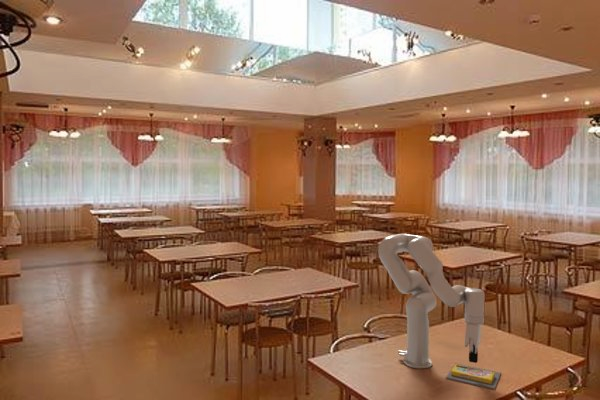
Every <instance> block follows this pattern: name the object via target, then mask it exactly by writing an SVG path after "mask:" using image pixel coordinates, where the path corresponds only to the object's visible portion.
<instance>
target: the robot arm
mask: <svg viewBox="0 0 600 400" xmlns="http://www.w3.org/2000/svg"><path fill="white" fill-rule="evenodd" d="M433 249H434V244H433V242H432V240H431V239H430V238H428V237H426V236H423V235H422V236H421V235H414V234H407V233H398V234H392V235H389V236H386V237H384V238H383V239H382V240H381V241H380V243H379V245H378V249H377V250H378V257H379V260H380V262H381V263H382V265H383V267H384V268H385V269H386V272H387V273H388V275H389V277H390V278H391V280H392V281H393V283H394V285H395V287H396V288H397V290H398V291H399V292H400V293H401V294H403V295H409V294H412V295H410V297H408V299H407V301H406V302H405V312H406V320H407V321H406V325H407V326H406V332H407V333H406V335H407V336H406V350H400V349H398V352H397V354H398V357H403V361H402V362H403V364H404V365H405V366H407V367H410V368H412V369H413V368H414V369H428V368H431V367H432V365H433V361H432V360H431V359H430V358H429V355H430V354H429V353H430V352H429V351H430V350H429V348H430V347H429V346H430V345H429V344H430V321H429V315H428V313H429V312H432V310H433V309H435V308H436V306H437V301H438V300H437V297H438V299H439V300H440V301H441V302H442V303H444V304H445V305H447V306H448V307H451V308H454V307H457V306H459V305H460V304H464V322H465V323H466V324H465V325H466V326H465V335H464V336H465V337H464V346H465V347H468V349H469V350H468V362H469V363H475V364H477V363H478V362H479V361H478V360H479V358H478V357H479V355H478V352H479V351H478V350H479V349H478V348H479V345H480V344H481V340H482V325H484V323H485V298H486V297H485V295H486V294H485V292H484V291H483V289H480V288H476V287H474V288H473V287H472V288H471V287H468V286H464V285H461V284H456V285H453V286H451V284H450V283H449V282H448V281H447V279H446V277H445V275H444V272H443V267H444V266H443V262H442V260H440V258H439V257H438V256H437V255H436V253H434V251H433ZM402 252H404V253H405V252H406V253H408V254H409V255H410V256H411V257H412V258H413V260H414V261H415V263H417V264H418V266H419V267H420V268H421V269H422V271H423V272H424V273H425V275H426V276H427V279H428V281H427V280H426V279H425V276H423V274H422V273H421V272H419V271H417V270H415V269H412V270H409V269H408V267H407V266H406V264H405V263H404V260H402V259H401V258H400V257H399V256H398V254H399V253H402ZM428 282H429V283H428ZM436 296H437V297H436Z"/></svg>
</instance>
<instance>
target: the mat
mask: <svg viewBox="0 0 600 400" xmlns="http://www.w3.org/2000/svg"><path fill="white" fill-rule="evenodd" d="M455 364H457V365H462V366H467V367H472V368H476V369H481V370H485V371H490V372H495V377H494V379H493V381H492V383H491V384H489V383H485V382H480V381H476V380H472V379H467V378H463V377H458V376H454V375H451V371H452V369H453V368H454V366H455ZM501 374H502V372H499V371H494V370H490V369H485V368H480V367H475V366H470V365H465V364H461V363H454V365H453V366H452V367H451V369H450V371H449V372H448V373H447V375H446V377H445V379H446V380H449V381H450V380H451V381H455V382H459V383H462V384H463V383H464V384H467V385H471V386H472V385H473V386H477V387H482V388H484V389H485V388H486V389H490V390H494V391H495V390H496V387H497V385H498V383H499V380H500V377H501Z"/></svg>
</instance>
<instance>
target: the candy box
mask: <svg viewBox="0 0 600 400" xmlns="http://www.w3.org/2000/svg"><path fill="white" fill-rule="evenodd" d="M457 364H458V363H456V364H455V363H454V365H455V366H454V365H453V366H454V368H453V367H452V368H453V369H452V368H451V369H452V371H451V370H450V371H451V375H454V376H458V377H463V378H467V379H472V380H476V381H480V382H485V383H489V384H491V383H492V381H493V379H494V377H495V372H496V371H495V372H490V371H491V370H490V371H485V370H486V369H485V370H481V369H482V368H480V369H476V368H477V367H476V368H472V367H473V366H471V367H467V366H468V365H466V366H462V365H463V364H461V365H457Z"/></svg>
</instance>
